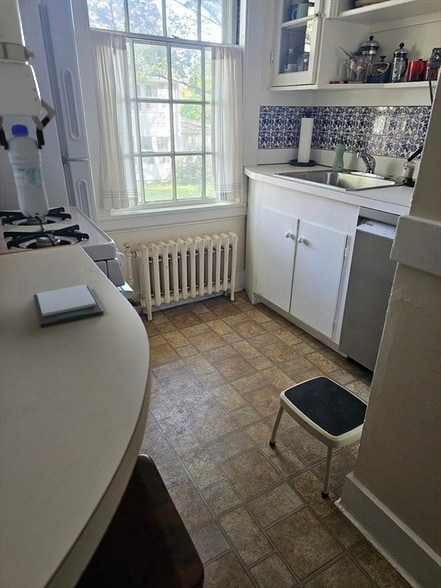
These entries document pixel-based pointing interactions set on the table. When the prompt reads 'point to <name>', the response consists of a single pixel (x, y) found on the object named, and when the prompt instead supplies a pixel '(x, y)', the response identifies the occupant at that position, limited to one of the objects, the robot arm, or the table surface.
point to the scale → (66, 305)
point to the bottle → (27, 172)
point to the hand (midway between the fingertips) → (23, 148)
